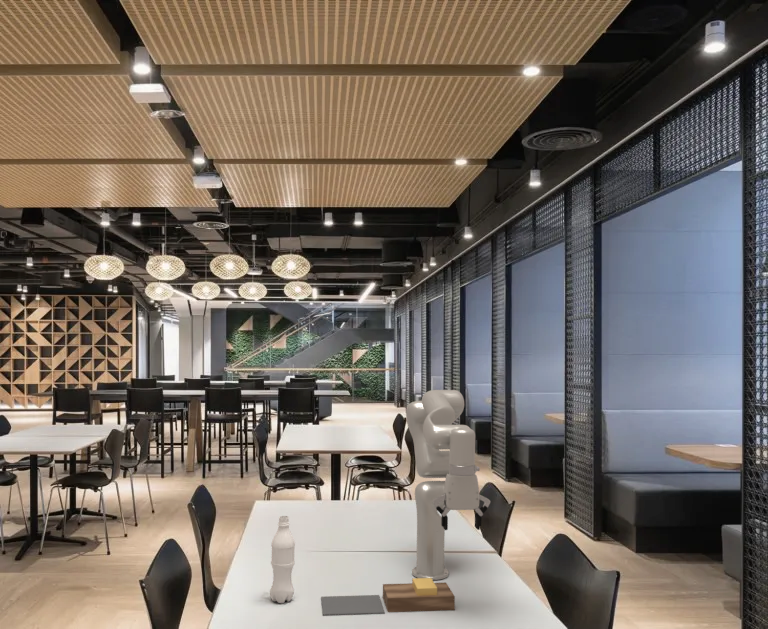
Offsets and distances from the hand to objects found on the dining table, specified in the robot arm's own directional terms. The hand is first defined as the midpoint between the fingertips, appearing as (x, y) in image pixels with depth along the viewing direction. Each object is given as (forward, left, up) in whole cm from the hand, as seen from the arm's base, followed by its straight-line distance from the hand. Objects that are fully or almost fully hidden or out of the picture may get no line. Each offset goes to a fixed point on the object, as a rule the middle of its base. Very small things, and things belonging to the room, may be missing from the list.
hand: (461, 528), depth 196 cm
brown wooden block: (-8, -11, -24) cm, 28 cm away
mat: (-8, -31, -24) cm, 40 cm away
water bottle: (-14, -52, -24) cm, 59 cm away
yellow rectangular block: (-8, -9, -20) cm, 24 cm away
